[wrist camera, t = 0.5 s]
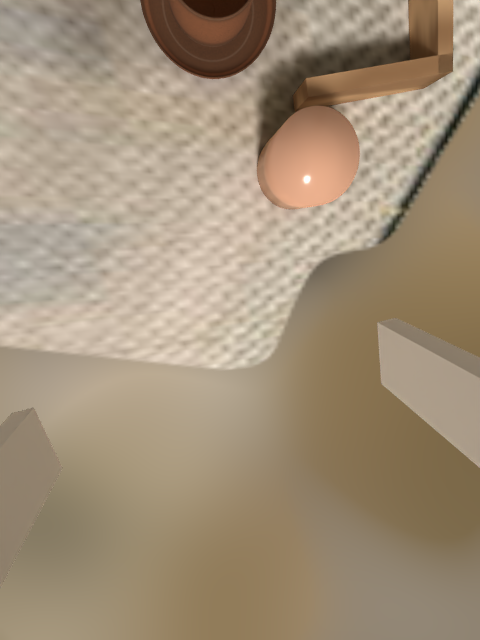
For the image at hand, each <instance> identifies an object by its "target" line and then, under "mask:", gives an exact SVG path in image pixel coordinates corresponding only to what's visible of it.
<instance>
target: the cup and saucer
mask: <svg viewBox="0 0 480 640" xmlns="http://www.w3.org/2000/svg"><path fill="white" fill-rule="evenodd" d="M140 1H141V6H142V11H143V14H144V17H145V20H146V23H147V26H148V28H149V30H150V32H151V34H152V36H153V38H154V39H155V41H156V43H157V44H158V46H159V47H160V49H161V50H162V51H163V52H164V53H165V55H166V56H167V57H168V58H169V59H170V60H171V61H172V62H174V63H175V64H176V65H177V66H179V67H180V68H181V69H183V70H185V71H187V72H188V73H191V74H193V75H196V76H199V77H203V78H209V79H220V78H226V77H230V76H233V75H235V74H237V73H239V72H241V71H243V70H244V69H246V68H247V67H248V66H249V65H251V64H252V63H253V62H254V61H255V60H256V59H257V57H258V56H259V55H260V53H261V52H262V50H263V49H264V47H265V45H266V43H267V41H268V39H269V37H270V34H271V31H272V28H273V24H274V19H275V12H276V0H140Z"/></svg>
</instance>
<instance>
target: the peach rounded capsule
mask: <svg viewBox="0 0 480 640" xmlns="http://www.w3.org/2000/svg"><path fill="white" fill-rule="evenodd" d="M359 157H360V151H359V142H358V138H357V135H356V133H355V130H354V128H353V127H352V125H351V123H350V122H349V121H348V119H347V118H346V117H345V116H344V115H342V114H341V113H340V112H338V111H336V110H335V109H332V108H330V107H326V106H310V107H306V108H303V109H301V110H299V111H297V112H296V113H294V114H293V115H292V116H291V117H289V118H288V119H287V121H286V122H285V123H284V124H283V125H282V126H281V127H280V128H279V129H278V131H277V132H276V133H275V134H274V135H273V136H272V137H271V138H270V140H269V141H268V142H267V143H266V144H265V146H264V147H263V149H262V151H261V153H260V156H259V159H258V165H257V176H258V182H259V185H260V188H261V190H262V192H263V193H264V195H265V196H266V197H267V198H268V200H270V201H271V202H272V203H273V204H275V205H276V206H278V207H281V208H284V209H300V208H306V207H312V206H318V205H323V204H327V203H329V202H331V201H333V200H335V199H337V198H338V197H339V196H341V195H342V194H343V193H344V192H345V191H346V190H347V189H348V187H349V186H350V184H351V183H352V181H353V179H354V177H355V175H356V172H357V169H358V164H359Z"/></svg>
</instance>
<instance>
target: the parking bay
mask: <svg viewBox="0 0 480 640" xmlns="http://www.w3.org/2000/svg"><path fill="white" fill-rule="evenodd" d="M409 36H410V60H408V61H402V62H396V63H391V64H385V65H379V66H373V67H368V68H362V69H356V70H351V71H345V72H339V73H333V74H328V75H322V76H316V77H310V78H306V79H305V80H304V82H303V83H302V84H301V85H300V87H299V88H298V89H297V91H296V92H295V93H294V95H293V101H294V109H295V112H297V111H299V110H301V109H303V108H306V107H310V106H330V105H336V104H341V103H347V102H352V101H358V100H363V99H369V98H374V97H379V96H385V95H390V94H396V93H401V92H407V91H412V90H418V89H423V88H425V87H427V86H429V85H430V84H432V83H434V82H436V81H437V80H439V79H441V78H442V77H444V76H446V75H447V74H449V73H451V72H452V71H453V0H409Z"/></svg>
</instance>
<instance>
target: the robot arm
mask: <svg viewBox="0 0 480 640" xmlns="http://www.w3.org/2000/svg"><path fill="white" fill-rule="evenodd" d="M377 324H378V340H379V355H380V371H381V384H383V385H384V386H385V387H386V388H387V389H388V390H389V391H391V392H392V393H393V394H394V395H395V396H396V397H398V398H399V399H400V400H401V401H402V402H403V403H405V404H406V405H407V406H408V407H409V408H410V409H412V410H413V411H414V412H415V413H416V414H417V415H419V416H420V417H421V418H422V419H423V420H425V421H426V422H427V423H428V424H429V425H430V426H432V427H433V428H434V429H435V430H436V431H437V432H439V433H440V434H441V435H442V436H443V437H444V438H446V439H447V440H448V441H449V442H450V443H452V444H453V445H454V446H455V447H456V448H457V449H459V450H460V451H461V452H462V453H463V454H464V455H466V456H467V457H468V458H469V459H470V460H471V461H473V462H474V463H475V464H476V465H478V467H480V358H479V357H477V356H475V355H473V354H471V353H469V352H466V351H464V350H462V349H460V348H458V347H456V346H454V345H452V344H450V343H447V342H445V341H443V340H441V339H439V338H437V337H435V336H433V335H431V334H429V333H426V332H424V331H422V330H420V329H418V328H416V327H414V326H411V325H410V324H407V323H405V322H403V321H401V320H399V319H397V318H393V319H390V320H385V321H381V322H378V323H377ZM61 470H62V466H61V464H60V462H59V459H58V457H57V455H56V453H55V451H54V449H53V447H52V445H51V443H50V440H49V438H48V436H47V434H46V432H45V430H44V428H43V426H42V424H41V422H40V420H39V418H38V415H37V413H36V411H35V409H34V408H31V409H26V410H22V411H18V412H14V413H12V414H11V415H10V416H9V417H8V418H7V419H6V420H5V421H4V422H3V423H2V424H1V425H0V587H1V586H2V584H3V582H4V580H5V578H6V576H7V574H8V572H9V570H10V568H11V566H12V564H13V562H14V561H15V559H16V557H17V555H18V553H19V551H20V549H21V547H22V545H23V543H24V541H25V539H26V537H27V535H28V533H29V532H30V530H31V527H32V526H33V524H34V522H35V520H36V518H37V516H38V514H39V512H40V510H41V508H42V506H43V504H44V503H45V501H46V499H47V497H48V495H49V493H50V491H51V489H52V487H53V485H54V483H55V481H56V479H57V477H58V476H59V473H60V472H61Z"/></svg>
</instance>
